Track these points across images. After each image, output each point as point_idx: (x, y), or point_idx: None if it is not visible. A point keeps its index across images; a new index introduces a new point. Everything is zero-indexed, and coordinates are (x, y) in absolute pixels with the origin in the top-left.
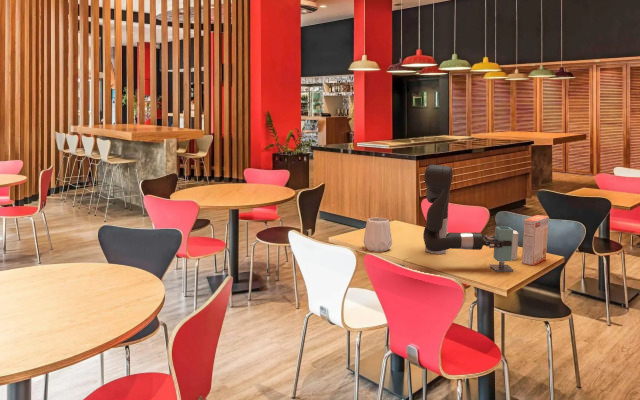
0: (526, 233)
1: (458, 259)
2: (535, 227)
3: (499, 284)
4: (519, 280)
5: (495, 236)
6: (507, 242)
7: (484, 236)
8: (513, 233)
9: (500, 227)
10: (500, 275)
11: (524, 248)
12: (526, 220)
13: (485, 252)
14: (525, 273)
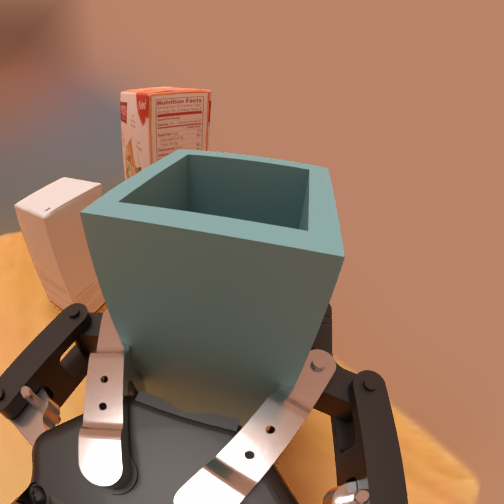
0: None
1: (6, 485)
2: (208, 122)
3: (444, 500)
4: (394, 413)
5: (138, 339)
6: (329, 325)
7: (22, 398)
8: (83, 192)
9: (145, 191)
10: (325, 473)
11: None
12: (160, 96)
13: (6, 315)
14: None
